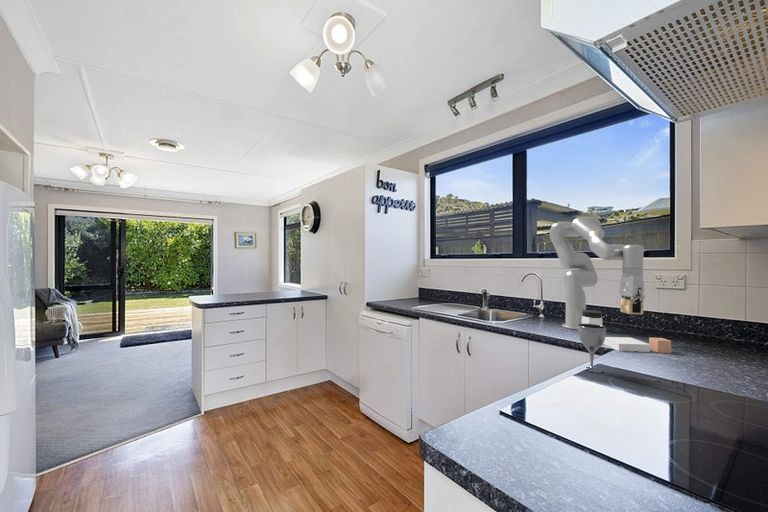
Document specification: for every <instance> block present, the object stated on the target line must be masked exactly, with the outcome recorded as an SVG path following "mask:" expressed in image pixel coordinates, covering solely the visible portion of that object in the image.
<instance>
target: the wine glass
mask: <svg viewBox="0 0 768 512" xmlns="http://www.w3.org/2000/svg"><path fill="white" fill-rule="evenodd" d="M606 334H607V327H606V326H605V325H603V324H602V325H597V324H585V323H584V324H578V338H579V340H580V342H581V344H582V345H583V346H584V347H585V348H586V349H587V351H588V354H589V359H590V361H589V362H590V365H589V366H588V367H586V368H590V369H596V368H597V367H595V366H594V357H595V356H594V355H595V353H596V352H597V351H598V349H600V348H601V347H602V346H603V345H604V344H603V343H604V341H605V337H607V336H606Z"/></svg>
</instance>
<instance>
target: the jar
mask: <svg viewBox="0 0 768 512" xmlns="http://www.w3.org/2000/svg"><path fill="white" fill-rule="evenodd" d="M584 323H585V324H597V325H602V326H603V312H602V311H599V310H593V309H586V310H583V311H582V324H584Z"/></svg>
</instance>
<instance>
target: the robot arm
mask: <svg viewBox="0 0 768 512" xmlns="http://www.w3.org/2000/svg"><path fill="white" fill-rule="evenodd" d="M601 227H602V224H601V221H600V220H599V219H598V218H596V217H592V216H579V217H576V218H574V219H573V220H572V221H557V222H555V223H553V224H552V225H551V226H550V229H549V239H550V241H551V243H552V245H553V247H554V248H555V252H556V255H557V257H558V260H559V262H560V265H561V267H562V268H563V269H566V270H568V271H566V272H565V273H564V275H563V283H564V290H565V319H564V321H565V323H562V328H565V329H570V330H578V324H582V311H583V310H587V307H586V306H587V300H586V299H587V298H586V297H587V296H586V292H585V290H584V289H583V288H591V287H594V286H596V285H597V284H598V279H599V278H598V274H597V272H596V269H595V267H594V264H593V262H592V259H591V257H590V256H589V255H588V254H587V253H584V252H579V251H578V252H576V251H575V249H574V247H573V245H572V243H571V242H570V241H569V240H568V239H567V237H568V238H569V237H577V238H578V237H582V238H583V239H585V240H586V241H587V242H588V246H589V249H590V250H591V252H592V253H593V254H595V256H597V257H599V258H600V259H602V260H604V261H605V260H606V261H622V268H621V269H622V274H621V277H620V282H619V283H620V284H619V295H620V296H621V299H633V302H634V304H633V306H632V312H633V313H641V304H642V301H643V302H644V300H645V298H646V295H645V294H644V293H645V287H644V286H645V284H644V253H645V252H644V246H643V245H642V244H618V243H616V244H615V243H613V244H611V243H610V244H609V243H606V242H605V241H604V240H603V238H604V237H605V231H604V229H602V228H601ZM636 299H637V300H636Z"/></svg>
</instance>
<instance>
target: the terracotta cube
mask: <svg viewBox="0 0 768 512" xmlns="http://www.w3.org/2000/svg"><path fill="white" fill-rule="evenodd" d="M648 344H650V351H651V352H655V353H657V352H659V353H658V354H672V340H669V339H667V338H663V337H648ZM660 352H661V353H660Z"/></svg>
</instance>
